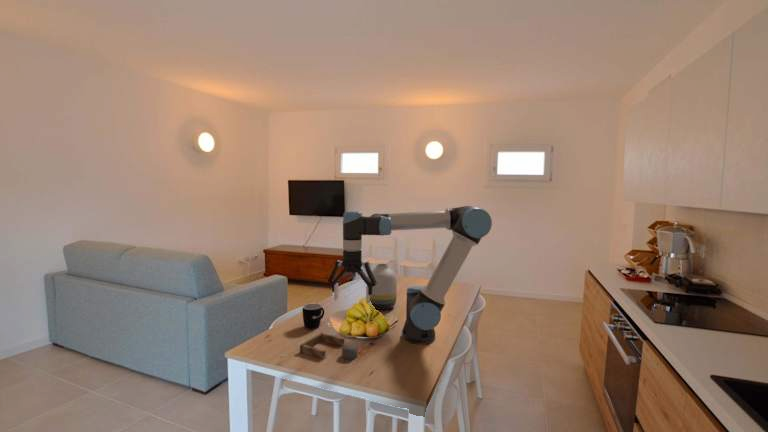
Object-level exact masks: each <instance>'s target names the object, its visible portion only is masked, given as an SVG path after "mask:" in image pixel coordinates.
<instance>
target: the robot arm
mask: <svg viewBox="0 0 768 432" xmlns="http://www.w3.org/2000/svg"><path fill="white" fill-rule="evenodd" d="M342 217H343V218H342V249H343V251H342V260H340V259H337V260H336V261H335V262H334V267H333V269H332V271H331V273H330V275H329V277H328V279H327V283H330V284H331V286H332V287H331V290H332V293H334V295H333V297H334V299H333V301H335V302H336V301H337V300H338V299H339V283H338V281H339V280H340V279H341V278H342V277H343V276H344V274H346V272H347V273H348V274H349V273H353V274H355V273H357V275H359V277H360V278H361V279H362V280H363V281H364V283H365V285H366V287H365V289H366V291H365V292H366V293H365V295H366V296H365V303H366V304H367V305H369V304H368V303H369V302H370V295H371V294H372V287H373V286H375V285H376V284H377V282H376V280H375V278H374V276H373V273H372V271H371V270H372V269H371V268H370V262H369V261H366V262H363V260H362V253H363V252H362V250H361V249H362V246H363V245H362V238H363V237H362V236H381V237H382V236H383V237H384V236H390V235H391V234H392V231H410V230H411V231H412V230H426V229H427V230H428V229H429V230H431V229H432V230H433V229H446V230H447V231H451V233H452V238H451V240H450V242H449V243H448V245H447V248H446V250H445V251H444V252H443V255H442V256H441V258H440V260H439V262H438V263H437V265H436V268H435V269H434V271H433V273H432V274H431V277H430V279H429V280H428V282H427V284H426V286H424V285H420V286H419V285H413V286H409V287H407V288H406V293H405V294H406V305H405V306H406V309H405V310H406V311H405V312H406V313H405V319H406V320H405V321H404V325H403V327H402V330H401V338H402V340H404V341H406V342H407V343H411V344H417V345H419V344H420V345H422V344H429V343H432V342H433V341H435V340H436V331H435V328H436V327H437V326H438V325H439V324H440V322H441V319H442V314H441V313H442V310H443V309H444V307H445V305H446V301H445V300H446V299H445V298H446V296H447V294H448V292H449V290H450V289H451V286H452V285H453V283H454V281H455V279H456V277H457V275H458V273H459V272H460V270H461V268H462V266H463V265H464V263H465V260H466V259H467V258H468V255H469V253H470V252H471V250H472V248H473V247H475V246H479V243H480V241H481V240H482V238H484V237H485V236H487V235H488V234H489V233H490V231H491V229H492V226H493V220H492V217H491V215H490V213H489V212H487V210H485V209H483V207H479V206H473V205H464V206H458V207H450V208H448V207H447V208H445V210H437V211H436V210H435V211H433V210H432V211H417V212H397V213H396V212H395V213H393V212H392V213H374V214H371V215H370V216H363V212H361V211H357V210H356V211H354V210H352V211H351V210H348V211H345V212H344V213H343V215H342ZM341 266H342V267H343V268H342V270H341V271H339V272H340V273H339V274H338V275H337V272H338V270H339V268H340V267H341ZM362 267H363V268H364V269H365V272H366V274H365V272H364V270H363V269H362ZM335 276H336V277H335ZM368 276H369V279H370V280H369V279H368Z"/></svg>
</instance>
